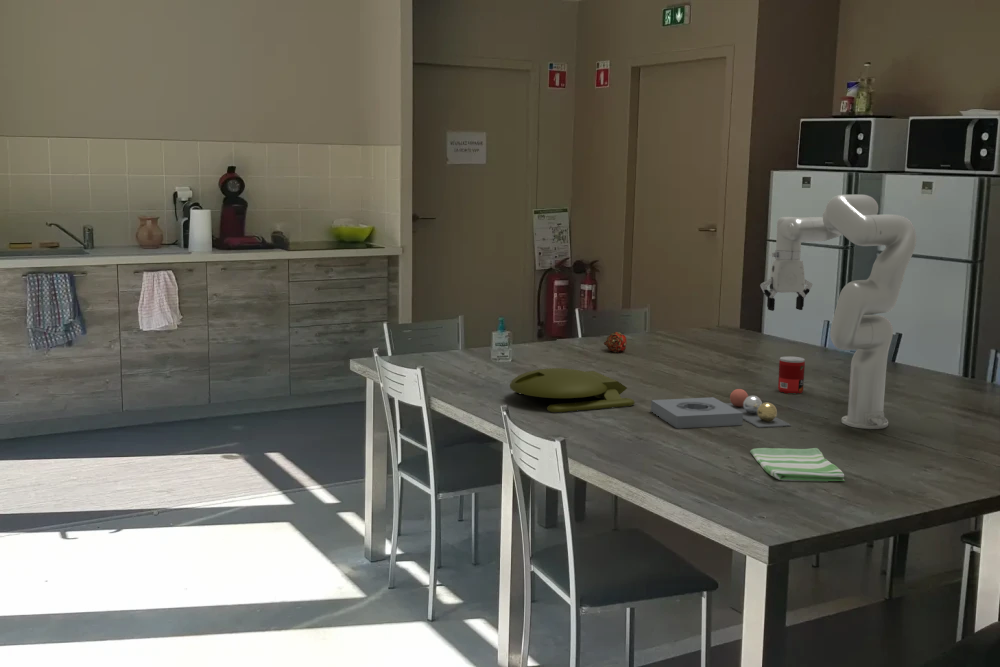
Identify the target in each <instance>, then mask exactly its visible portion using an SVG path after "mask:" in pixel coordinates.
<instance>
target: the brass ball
mask: <svg viewBox="0 0 1000 667" xmlns="http://www.w3.org/2000/svg"><path fill="white" fill-rule="evenodd" d="M757 414H758V417H759V418H760V419H761V420H763V421H765V422H769V421H772V420H774V419H775V417H777V416H778V410H777V407H776V406H775V405H774V404H773V403H771V402H762V404H761V405H760V406H759V407H758V410H757Z"/></svg>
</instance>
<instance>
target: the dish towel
mask: <svg viewBox="0 0 1000 667" xmlns="http://www.w3.org/2000/svg"><path fill="white" fill-rule="evenodd" d="M749 453H750V454H751V455H752V456H753V458H754V459H755V460H756V462H757V463H758V464H759V466H761V468H762V469H763V470H764V471H765V472H766V474H768V476H771V477H773V478H774V479H776V480H779V481H785V482H786V481H787V482H788V481H792V482H828V481H846V480H845V479H844V478H845V474H844V472H843V471H842V470H841V469H840V468H839V467H838V466H837V465H835V464H833V463H831V461H829V460H828V459H826V458H825V457H824V454H823V452H822V451H820V449H819V448H818V447H813V448H781V447H778V448H773V447H772V448H771V447H770V448H769V447H758V448H756V447H755V448H752V449H750V451H749Z"/></svg>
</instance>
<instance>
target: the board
mask: <svg viewBox="0 0 1000 667" xmlns="http://www.w3.org/2000/svg"><path fill="white" fill-rule="evenodd" d="M725 403H726V402H723V401H721V400H720V399H718V398H715V397H713V396H712V397H691V398H690V397H689V398H672V399H671V398H669V399H667V398H666V399H652V400H650V412H651V413H652V412H653V413H652V414H654V415H655V414H656V415H655V416H657V417H658V416H659V417H658V418H660V419H662V421H664V422H666V423H667V422H668V424H669V425H670V426H672V427H674V428H675V429H691V428H692V429H693V428H712V427H727V426H728V427H730V426H743V413H742V412H740V411H738V410H736V409H735V408H733V407H731V406H729V405H727V404H725Z"/></svg>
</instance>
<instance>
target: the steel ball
mask: <svg viewBox="0 0 1000 667" xmlns="http://www.w3.org/2000/svg"><path fill="white" fill-rule="evenodd" d="M761 404H763V402H762V400H761V398H760V397H758V396H757V395H748V397H747V398H746V399H745V400H744V402H743V407H744V409H745V411H746V412H748V413H749V414H756V413H757V410H758V407H759V406H760V405H761Z"/></svg>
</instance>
